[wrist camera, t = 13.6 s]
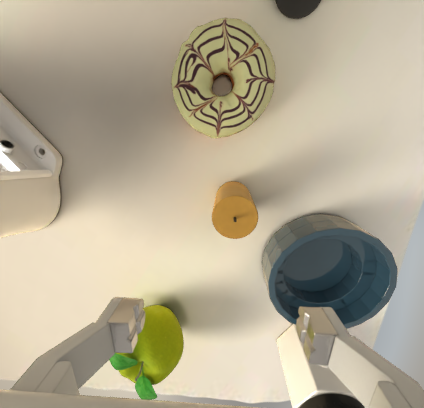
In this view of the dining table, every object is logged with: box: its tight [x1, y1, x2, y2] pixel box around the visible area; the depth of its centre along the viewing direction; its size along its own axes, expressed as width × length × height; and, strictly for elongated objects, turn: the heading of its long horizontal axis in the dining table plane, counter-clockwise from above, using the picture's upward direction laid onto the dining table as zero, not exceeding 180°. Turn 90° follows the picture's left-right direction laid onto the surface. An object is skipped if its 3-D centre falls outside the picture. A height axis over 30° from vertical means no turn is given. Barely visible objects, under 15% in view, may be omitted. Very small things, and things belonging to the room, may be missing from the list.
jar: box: [276, 324, 365, 408], centre depth 28 cm, size 9×8×12 cm
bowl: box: [262, 214, 397, 329], centre depth 27 cm, size 15×15×5 cm
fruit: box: [109, 305, 183, 400], centre depth 29 cm, size 9×9×10 cm
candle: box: [212, 181, 258, 239], centre depth 23 cm, size 5×5×8 cm
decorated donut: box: [171, 18, 275, 138], centre depth 22 cm, size 10×11×4 cm
